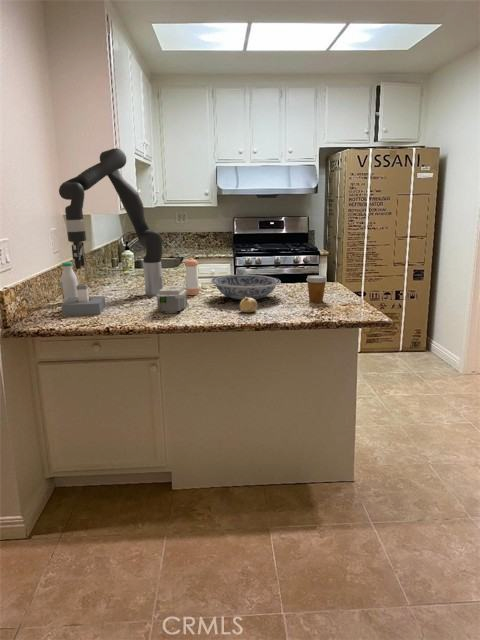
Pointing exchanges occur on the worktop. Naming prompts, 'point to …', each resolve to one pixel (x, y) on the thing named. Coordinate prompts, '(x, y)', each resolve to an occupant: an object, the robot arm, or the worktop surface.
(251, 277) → the ceramic bowl
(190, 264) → the pepper shaker
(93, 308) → the socket block
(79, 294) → the plug
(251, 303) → the onion
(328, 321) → the worktop surface
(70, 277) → the milk bottle
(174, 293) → the grey box
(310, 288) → the disposable coffee cup
